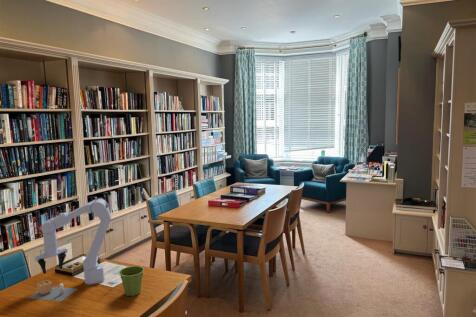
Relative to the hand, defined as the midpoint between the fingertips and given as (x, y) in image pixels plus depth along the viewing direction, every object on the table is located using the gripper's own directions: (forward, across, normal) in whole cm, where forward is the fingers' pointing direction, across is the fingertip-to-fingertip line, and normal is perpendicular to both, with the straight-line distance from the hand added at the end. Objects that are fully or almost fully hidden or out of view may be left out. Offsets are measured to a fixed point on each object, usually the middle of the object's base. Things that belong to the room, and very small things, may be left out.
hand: (52, 270), depth 174 cm
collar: (+7, +6, +4) cm, 10 cm away
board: (+9, +3, +8) cm, 13 cm away
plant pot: (+10, -23, +35) cm, 43 cm away
